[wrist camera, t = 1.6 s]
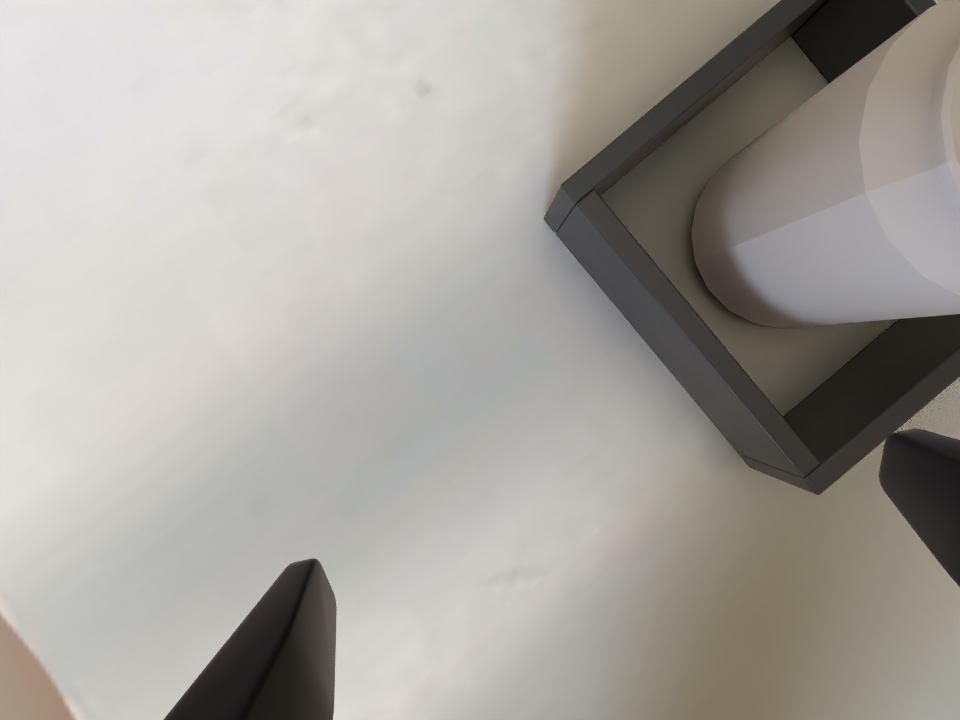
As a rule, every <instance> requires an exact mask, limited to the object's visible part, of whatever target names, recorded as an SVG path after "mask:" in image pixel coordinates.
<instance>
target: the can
mask: <svg viewBox="0 0 960 720" xmlns="http://www.w3.org/2000/svg"><path fill="white" fill-rule="evenodd" d="M691 236H692V243H693V250H694V257H695V263H696V265H697V267H698V269H699V271H700V273H701V275H702V278H703V280H704V282H705V284H706V286H707V288H708V289H709V290H710V291H711V292H712V294H713V295H714V296H715V297H716V298H717V299H718V300H719V301H720V302H721V303H722V304H723V305H724V306H725V307H726V308H727V309H728V310H729V311H731V312H733V313H735V314H737V315H739V316H741V317H743V318H744V319H746V320H748V321H750V322H752V323H754V324H760V325H765V326H771V327H777V328H794V327H806V326H818V325H830V324H842V323H854V322H867V321H879V320H891V319H903V318H915V317H927V316H940V315H952V314H960V0H945V1H942V2H940V3H938V4H936V5H934V6H932V7H930V8H929V9H927V10H926V11H925V12H923V13H922V14H921V15H919V16H918V17H917V18H915V19H914V20H913V21H911V22H910V23H909V24H907V25H906V26H905V27H903V28H902V29H901V30H899V31H898V32H897V33H895V34H894V35H893V36H892V37H890V38H889V39H888V40H886V41H885V42H884V43H882V44H881V45H880V46H878V47H877V48H876V49H874V50H873V51H872V52H870V53H869V54H868V55H866V56H865V57H864V58H862V59H861V60H860V61H858V62H857V63H856V64H855V65H853V66H852V67H851V68H849V69H848V70H847V71H845V72H844V73H843V74H841V75H840V76H839V77H837V78H836V79H835V80H833V81H832V82H831V83H829V84H828V85H827V86H825V87H824V88H823V89H821V90H820V91H819V92H818V93H816V94H815V95H814V96H812V97H811V98H810V99H808V100H807V101H806V102H804V103H803V104H802V105H800V106H799V107H798V108H796V109H795V110H794V111H792V112H791V113H790V114H788V115H787V116H786V117H784V118H783V119H782V120H781V121H779V122H778V123H777V124H775V125H774V126H773V127H771V128H770V129H769V130H767V131H766V132H765V133H763V134H762V135H761V136H759V137H758V138H757V139H755V140H754V141H753V142H751V143H750V144H749V145H747V146H746V147H745V148H744V149H742V150H741V151H740V152H738V153H737V154H736V155H734V156H733V157H732V158H730V159H729V160H728V161H727V162H726V163H725V164H724V165H723V166H722V167H721V168H720V169H719V170H718V171H717V172H716V173H715V174H714V175H713V176H712V177H711V178H710V179H709V181H708V183H707V185H706V187H705V189H704V191H703V193H702V194H701V196H700V198H699V200H698V202H697V204H696V209H695V214H694V220H693V226H692V232H691Z"/></svg>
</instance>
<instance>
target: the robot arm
mask: <svg viewBox="0 0 960 720" xmlns="http://www.w3.org/2000/svg"><path fill="white" fill-rule="evenodd" d="M879 480H880V483H881V486H882V488H883V490H884V491H885V493H886V494H887V495H888V497H889V498H890V499H891V501H892V502H893V503H894V505H895V506H896V507H897V508H898V510H899V511H900V512H901V514H902V515H903V516H904V518H905V519H906V520H907V521H908V523H909V524H910V525H911V527H912V528H913V529H914V530H915V532H916V533H917V534H918V536H919V537H920V538H921V540H922V541H923V542H924V543H925V545H926V546H927V547H928V549H929V550H930V551H931V552H932V554H933V555H934V556H935V558H936V559H937V560H938V562H939V563H940V564H941V565H942V567H943V568H944V569H945V570H946V571H947V573H948V574H949V575H950V576H951V578H952V579H953V580H954V581H955V582H956V583H957V584H958V585H959V587H960V440H957V439H953V438H950V437H946V436H943V435H939V434H936V433H933V432H929V431H926V430H922V429H910V430H906V431H901V432H897V433H893V434H891V435H889V436H888V437H887V439H886V441H885V445H884V450H883V455H882V461H881V466H880V471H879ZM335 647H336V600H335V596H334V593H333V590H332V588H331V586H330V584H329V581H328V579H327V577H326V574H325V572H324V570H323V568H322V565H321V563H320V562H319V561H318V560H317V559H308V560H303V561H298V562H294V563H291V564H290V565H289V566H287V567H286V569H285V570H284V571H283V572H282V574H281V575H280V576H279V577H278V578H277V580H276V581H275V582H274V583H273V585H272V586H271V587H270V588H269V590H268V591H267V592H266V593H265V595H264V596H263V597H262V598H261V600H260V601H259V602H258V603H257V605H256V606H255V607H254V608H253V609H252V611H251V612H250V613H249V614H248V616H247V617H246V618H245V619H244V621H243V622H242V623H241V624H240V626H239V627H238V628H237V629H236V631H235V632H234V633H233V634H232V635H231V637H230V638H229V639H228V640H227V642H226V643H225V644H224V645H223V647H222V648H221V649H220V650H219V652H218V653H217V654H216V655H215V657H214V658H213V659H212V660H211V662H210V663H209V664H208V665H207V666H206V668H205V669H204V670H203V671H202V673H201V674H200V675H199V676H198V678H197V679H196V680H195V681H194V683H193V684H192V685H191V686H190V688H189V689H188V690H187V691H186V692H185V694H184V695H183V696H182V697H181V699H180V700H179V701H178V702H177V704H176V705H175V706H174V707H173V709H172V710H171V711H170V712H169V714H168V715H167V716H166V717H165V718H164V720H333V712H334V687H335Z"/></svg>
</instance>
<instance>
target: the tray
mask: <svg viewBox="0 0 960 720" xmlns="http://www.w3.org/2000/svg"><path fill="white" fill-rule="evenodd" d="M934 5H936V3H935V2H934V0H781V1H780V2H778V3H777V4H776V5H775V6H774V7H773V8H771V9H770V10H769V11H768V12H767V13H765V14H764V15H763V16H762V17H761V18H759V19H758V20H757V21H756V22H755V23H753V24H752V25H751V26H750V27H749V28H747V29H746V30H745V31H744V32H743V33H742V34H740V35H739V36H738V37H737V38H736V39H734V40H733V41H732V42H731V43H730V44H728V45H727V46H726V47H725V48H724V49H722V50H721V51H720V52H719V53H718V54H716V55H715V56H714V57H713V58H712V59H710V60H709V61H708V62H707V63H706V64H705V65H703V66H702V67H701V68H700V69H699V70H697V71H696V72H695V73H694V74H693V75H691V76H690V77H689V78H688V79H687V80H685V81H684V82H683V83H682V84H681V85H679V86H678V87H677V88H676V89H675V90H674V91H672V92H671V93H670V94H669V95H668V96H666V97H665V98H664V99H663V100H662V101H660V102H659V103H658V104H657V105H656V106H654V107H653V108H652V109H651V110H650V111H648V112H647V113H646V114H645V115H644V116H643V117H641V118H640V119H639V120H638V121H637V122H635V123H634V124H633V125H632V126H631V127H629V128H628V129H627V130H626V131H625V132H623V133H622V134H621V135H620V136H619V137H617V138H616V139H615V140H614V141H613V142H611V143H610V144H609V145H608V146H607V147H606V148H604V149H603V150H602V151H601V152H600V153H598V154H597V155H596V156H595V157H594V158H592V159H591V160H590V161H589V162H588V163H586V164H585V165H584V166H583V167H582V168H580V169H579V170H578V171H577V172H576V173H575V174H573V175H572V176H571V177H570V178H569V179H567V180H566V181H565V182H564V183H563V184H562V185H561V187H560V189H559V190H558V192H557V194H556V196H555V198H554V200H553V202H552V204H551V206H550V207H549V209H548V211H547V213H546V215H545V217H544V220H545V221H546V223H547V224H548V225H549V226H550V227H551V229H552V230H553V231H554V232H557V233H556V234H557V236H558V237H559V238H560V239H561V241H562V242H563V243H564V244H565V245H566V247H567V248H568V249H569V250H570V251H571V253H572V254H573V255H574V256H575V257H576V259H577V260H578V261H579V262H580V263H581V265H582V266H583V267H584V268H585V269H586V271H587V272H588V273H589V274H590V275H591V277H592V278H593V279H594V280H595V281H596V283H597V284H598V285H599V286H600V287H601V289H602V290H603V291H604V292H605V293H606V295H607V296H608V297H609V298H610V299H611V301H612V302H613V303H614V304H615V305H616V307H617V308H618V309H619V310H620V311H621V313H622V314H623V315H624V316H625V318H626V319H627V320H628V321H629V322H630V324H631V325H632V326H633V327H634V328H635V330H636V331H637V332H638V333H639V334H640V336H641V337H642V338H643V339H644V340H645V342H646V343H647V344H648V345H649V346H650V348H651V349H652V350H653V351H654V352H655V354H656V355H657V356H658V357H659V358H660V360H661V361H662V362H663V363H664V364H665V366H666V367H667V368H668V369H669V370H670V372H671V373H672V374H673V375H674V376H675V378H676V379H677V380H678V381H679V382H680V384H681V385H682V386H683V387H684V388H685V390H686V391H687V392H688V393H689V394H690V396H691V397H692V398H693V399H694V400H695V402H696V403H697V404H698V405H699V407H700V408H701V409H702V410H703V411H704V413H705V414H706V415H707V416H708V417H709V419H710V420H711V421H712V422H713V423H714V425H715V426H716V427H717V428H718V429H719V431H720V432H721V433H722V434H723V435H724V437H725V438H726V439H727V440H728V441H729V443H730V444H731V445H732V446H733V447H734V449H735V450H736V451H737V452H738V453H739V454H740V455H741V457H742V458H743V459H744V460H745V462H746V463H747V464H748V465H749V467H751V468H753V469H755V470H758V471H760V472H762V473H765V474H767V475H770V476H772V477H775V478H777V479H780V480H782V481H784V482H787V483H789V484H792V485H794V486H797V487H799V488H802V489H804V490H807V491H809V492H811V493H814V494H816V495H819V494H821V493H822V492H823V491H825V490H826V489H827V488H828V487H829V486H831V485H832V484H833V483H834V482H835V481H837V480H838V479H839V478H840V477H841V476H842V475H844V474H845V473H846V472H847V471H848V470H850V469H851V468H852V467H853V466H854V465H855V464H857V463H858V462H859V461H860V460H861V459H863V458H864V457H865V456H866V455H867V454H869V453H870V452H871V451H872V450H873V449H874V448H876V447H877V446H878V445H879V444H880V443H882V442H883V441H884V440H885V439H886V438H887V437H888V436H889V435H891V434H892V433H893V432H895V431H896V430H897V429H898V428H899V427H901V426H902V425H903V424H904V423H905V422H906V421H908V420H909V419H910V418H911V417H912V416H914V415H915V414H916V413H917V412H918V411H919V410H921V409H922V408H923V407H924V406H925V405H927V404H928V403H929V402H930V401H931V400H933V399H934V398H935V397H936V396H937V395H938V394H940V393H941V392H942V391H943V390H944V389H946V388H947V387H948V386H949V385H950V384H951V383H953V382H954V381H955V380H956V379H957V378H959V377H960V314H952V315H940V316H927V317H915V318H903V319H900V320H898V321H897V322H896V323H895V324H894V325H892V326H891V327H890V328H889V329H888V330H887V331H885V332H884V333H883V334H882V335H881V336H879V337H878V338H877V339H876V340H875V341H873V342H872V343H871V344H870V345H869V346H868V347H866V348H865V349H864V350H863V351H862V352H860V353H859V354H858V355H857V356H856V357H854V358H853V359H852V360H851V361H850V362H849V363H847V364H846V365H845V366H844V367H843V368H841V369H840V370H839V371H838V372H837V373H835V374H834V375H833V376H832V377H831V378H830V379H828V380H827V381H826V382H825V383H824V384H822V385H821V386H820V387H819V388H818V389H817V390H815V391H814V392H813V393H812V394H811V395H809V396H808V397H807V398H806V399H805V400H803V401H802V402H801V403H800V404H799V405H798V406H796V407H795V408H794V409H793V410H792V411H790V412H789V413H788V414H787V415H786V416H784V417H782V416H781V414H780V413H779V412H778V411H777V410H776V408H775V407H774V406H773V405H772V404H771V402H770V401H769V400H768V399H767V397H766V396H765V395H764V394H763V393H762V391H761V390H760V389H759V388H758V387H757V385H756V384H755V383H754V382H753V381H752V379H751V378H750V377H749V376H748V375H747V373H746V372H745V371H744V370H743V368H742V367H741V366H740V365H739V364H738V362H737V361H736V360H735V359H734V358H733V356H732V355H731V354H730V353H729V352H728V350H727V349H726V348H725V347H724V346H723V344H722V343H721V342H720V341H719V340H718V338H717V337H716V336H715V335H714V333H713V332H712V331H711V330H710V329H709V327H708V326H707V325H706V324H705V323H704V321H703V320H702V319H701V318H700V317H699V315H698V314H697V313H696V312H695V311H694V309H693V308H692V307H691V306H690V304H689V303H688V302H687V301H686V300H685V298H684V297H683V296H682V295H681V294H680V292H679V291H678V290H677V289H676V288H675V286H674V285H673V284H672V283H671V282H670V280H669V279H668V278H667V277H666V276H665V274H664V273H663V272H662V271H661V269H660V268H659V267H658V266H657V265H656V263H655V262H654V261H653V260H652V259H651V257H650V256H649V255H648V254H647V253H646V251H645V250H644V249H643V248H642V247H641V245H640V244H639V243H638V242H637V240H636V239H635V238H634V237H633V236H632V234H631V233H630V232H629V231H628V230H627V228H626V227H625V226H624V225H623V224H622V222H621V221H620V220H619V219H618V218H617V216H616V215H615V214H614V213H613V212H612V210H611V209H610V208H609V207H608V205H607V204H606V203H605V202H604V201H603V199H602V198H601V197H600V195H601V194H603V193H604V192H605V191H606V190H607V189H609V188H610V187H611V186H612V185H613V184H615V183H616V182H617V181H618V180H619V179H621V178H622V177H623V176H624V175H625V174H626V173H628V172H629V171H630V170H631V169H632V168H634V167H635V166H636V165H637V164H638V163H640V162H641V161H642V160H643V159H644V158H646V157H647V156H648V155H649V154H650V153H652V152H653V151H654V150H655V149H656V148H657V147H659V146H660V145H661V144H662V143H663V142H665V141H666V140H667V139H668V138H669V137H671V136H672V135H673V134H674V133H675V132H677V131H678V130H679V129H680V128H681V127H683V126H684V125H685V124H686V123H687V122H688V121H690V120H691V119H692V118H693V117H694V116H696V115H697V114H698V113H699V112H700V111H702V110H703V109H704V108H705V107H706V106H708V105H709V104H710V103H711V102H712V101H714V100H715V99H716V98H717V97H718V96H719V95H721V94H722V93H723V92H724V91H725V90H727V89H728V88H729V87H730V86H731V85H733V84H734V83H735V82H736V81H737V80H739V79H740V78H741V77H742V76H743V75H745V74H746V73H747V72H748V71H749V70H750V69H752V68H753V67H754V66H755V65H756V64H758V63H759V62H760V61H761V60H762V59H764V58H765V57H766V56H767V55H768V54H770V53H771V52H772V51H773V50H774V49H776V48H777V47H778V46H779V45H780V44H781V43H783V42H784V41H785V40H786V39H787V38H789V37H790V36H791V35H792V34H793V35H792V36H793V38H794V39H795V40H796V42H797V43H798V44H799V45H800V47H801V48H802V49H803V50H804V51H805V53H806V54H807V55H808V56H809V58H810V59H811V60H812V61H813V62H814V64H815V65H816V66H817V67H818V69H819V70H820V71H821V72H822V74H823V75H824V76H825V77H826V78H827V80H828V81H829V82H830V83H831V82H832V81H833V80H835V79H836V78H837V77H839V76H840V75H841V74H843V73H844V72H845V71H847V70H848V69H849V68H851V67H852V66H853V65H855V64H856V63H857V62H858V61H860V60H861V59H862V58H864V57H865V56H866V55H868V54H869V53H870V52H872V51H873V50H874V49H876V48H877V47H878V46H880V45H881V44H882V43H884V42H885V41H886V40H888V39H889V38H890V37H892V36H893V35H894V34H895V33H897V32H898V31H899V30H901V29H902V28H903V27H905V26H906V25H907V24H909V23H910V22H911V21H913V20H914V19H915V18H917V17H918V16H919V15H921V14H922V13H923V12H925V11H926V10H927V9H929V8H930V7H932V6H934Z"/></svg>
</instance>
